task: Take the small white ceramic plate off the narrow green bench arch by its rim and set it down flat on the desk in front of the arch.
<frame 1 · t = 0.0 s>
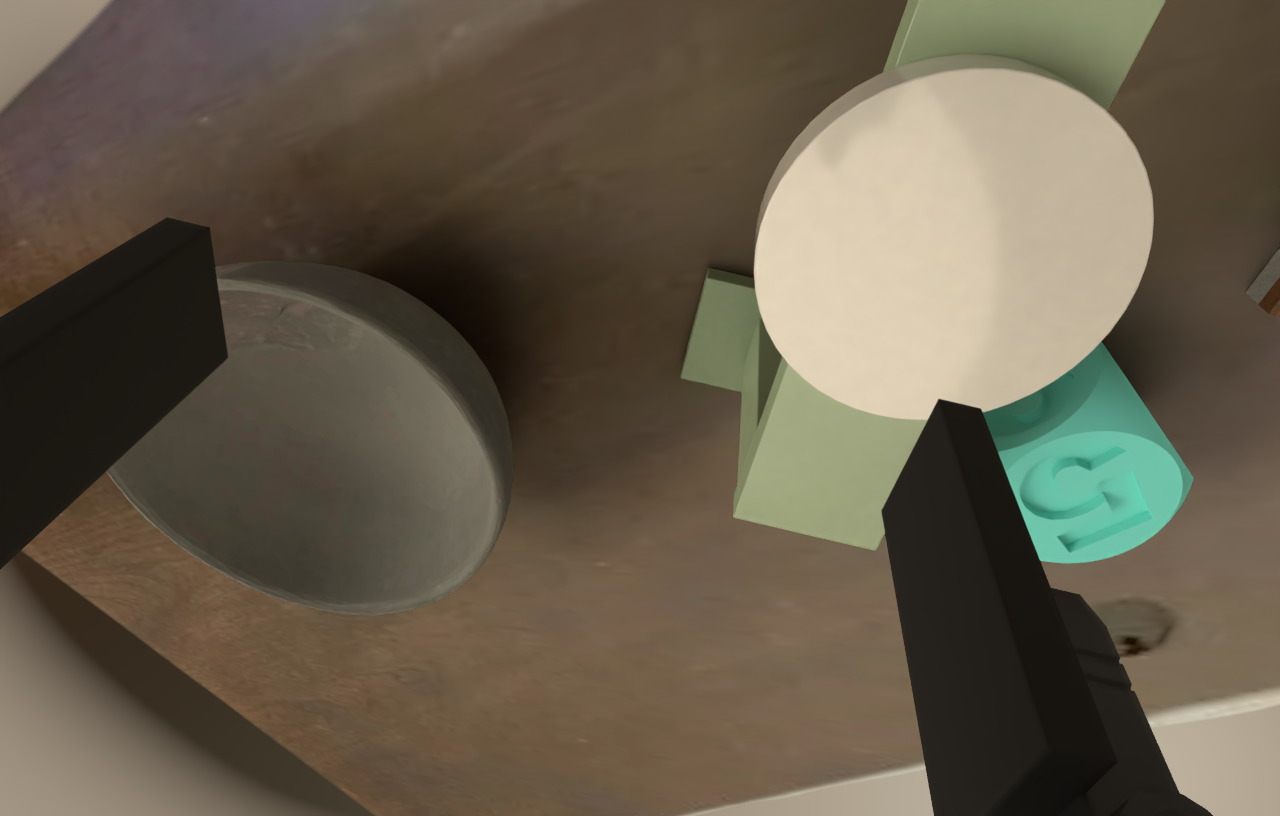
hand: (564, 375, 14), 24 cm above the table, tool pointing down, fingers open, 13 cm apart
decorative dice: (1032, 396, 41), on the table
green bench arch: (885, 133, 34), on the table
plate: (932, 243, 24), point 12 cm above the table, touching green bench arch
bowl: (377, 368, 45), on the table
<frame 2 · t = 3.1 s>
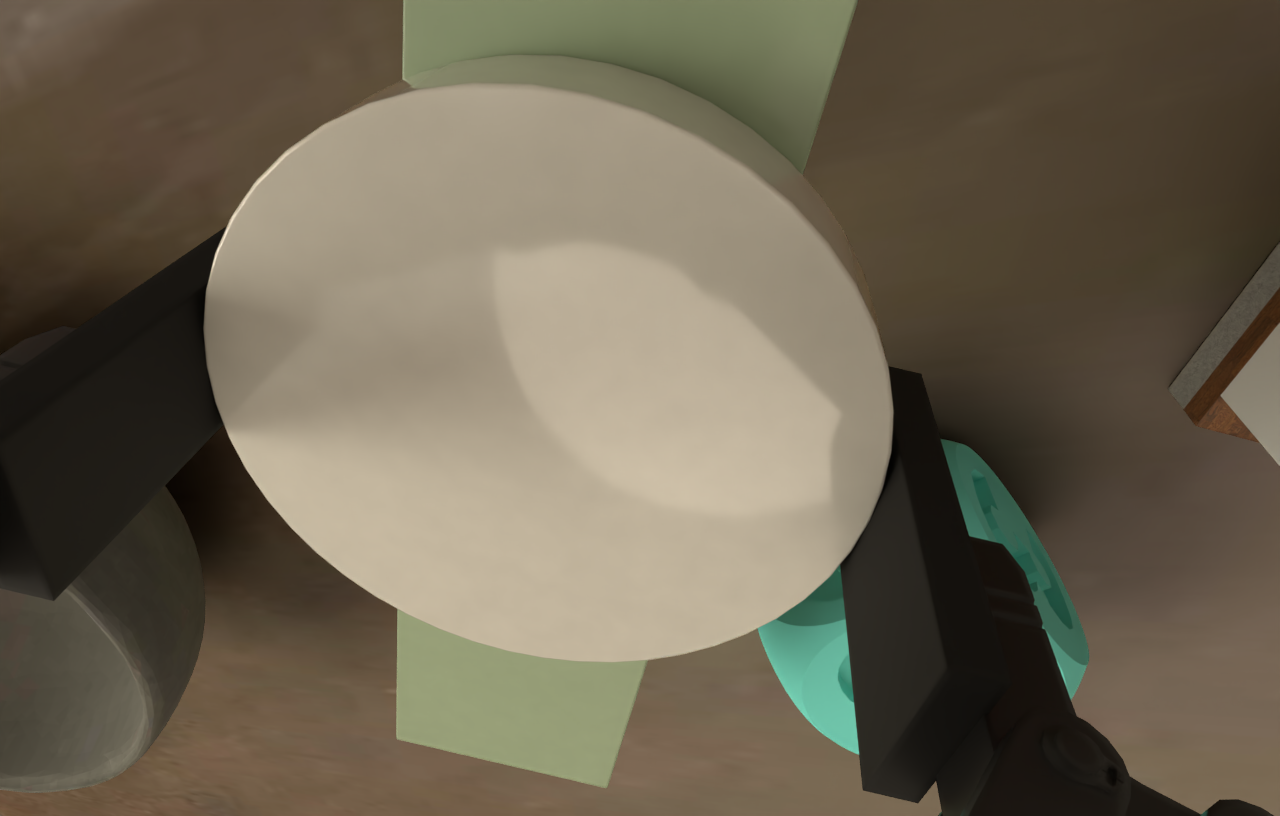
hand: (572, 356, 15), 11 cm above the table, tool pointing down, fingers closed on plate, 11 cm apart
decorative dice: (894, 513, 30), on the table
green bench arch: (645, 168, 24), on the table
plate: (561, 383, 14), point 12 cm above the table, touching gripper, green bench arch
bowl: (63, 461, 35), on the table
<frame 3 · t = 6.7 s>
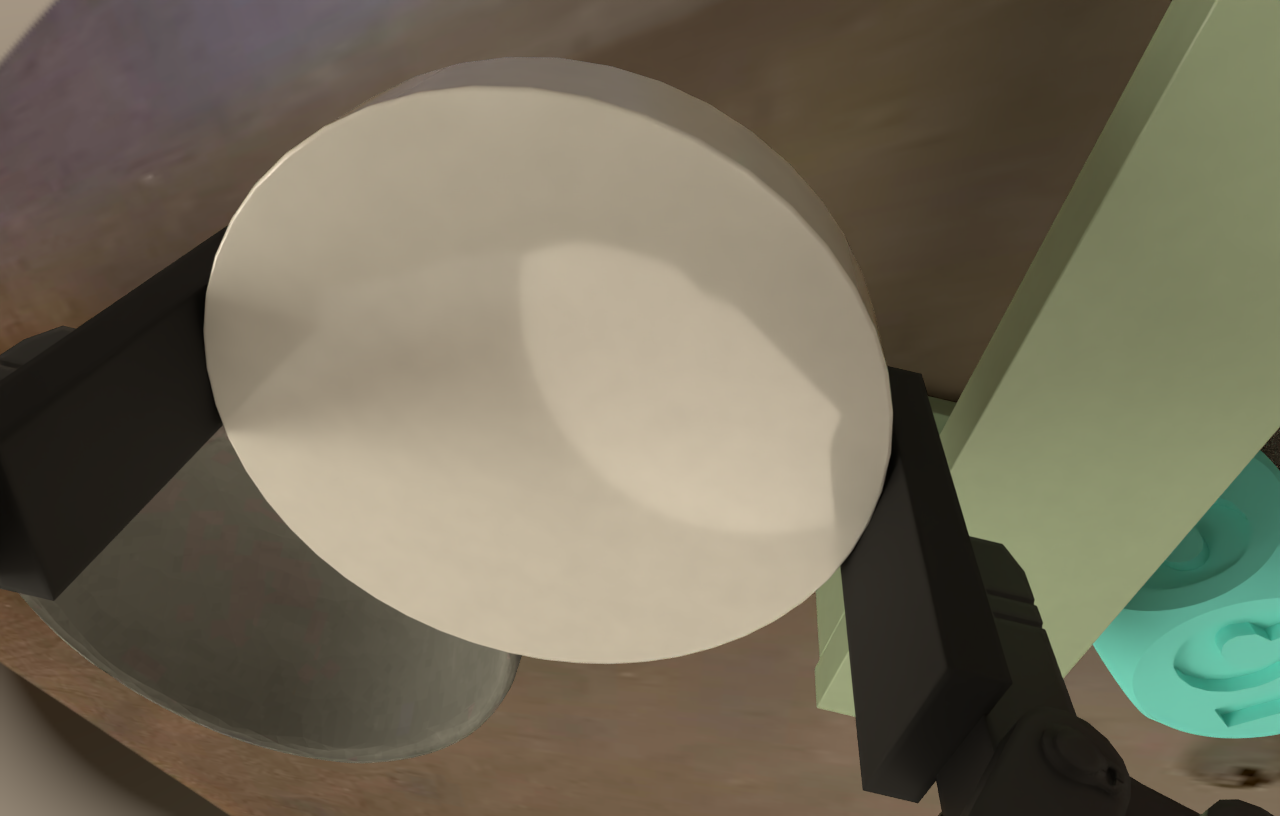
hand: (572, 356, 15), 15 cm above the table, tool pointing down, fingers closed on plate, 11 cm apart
decorative dice: (1160, 510, 33), on the table
green bench arch: (1006, 205, 27), on the table
plate: (561, 385, 14), point 16 cm above the table, touching gripper
bowl: (365, 461, 38), on the table
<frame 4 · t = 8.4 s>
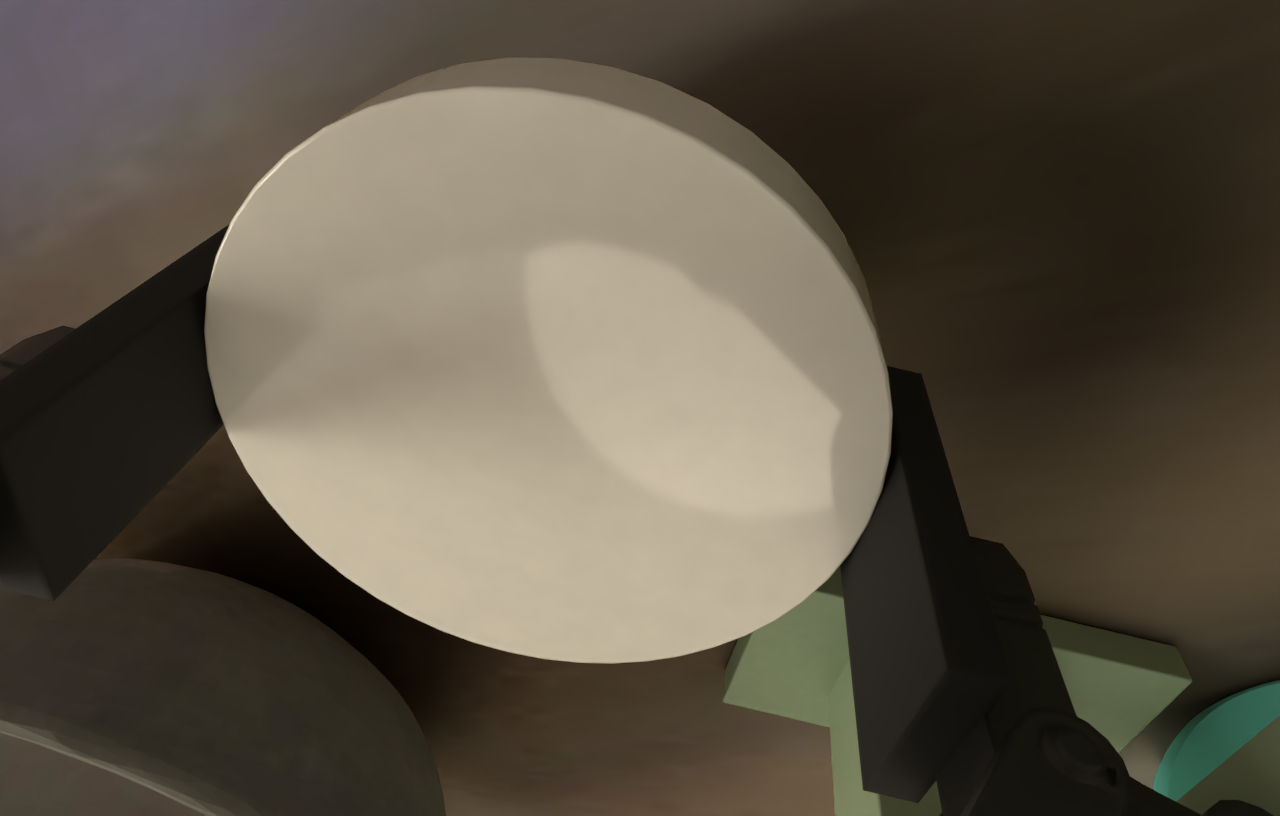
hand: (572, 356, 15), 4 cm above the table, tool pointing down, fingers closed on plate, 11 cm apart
green bench arch: (1127, 375, 18), on the table
plate: (561, 385, 14), point 5 cm above the table, touching gripper
bowl: (251, 640, 30), on the table
when the fingers open (0 cm above the table, at t = 10.6 s): plate drops 1 cm, on the table.
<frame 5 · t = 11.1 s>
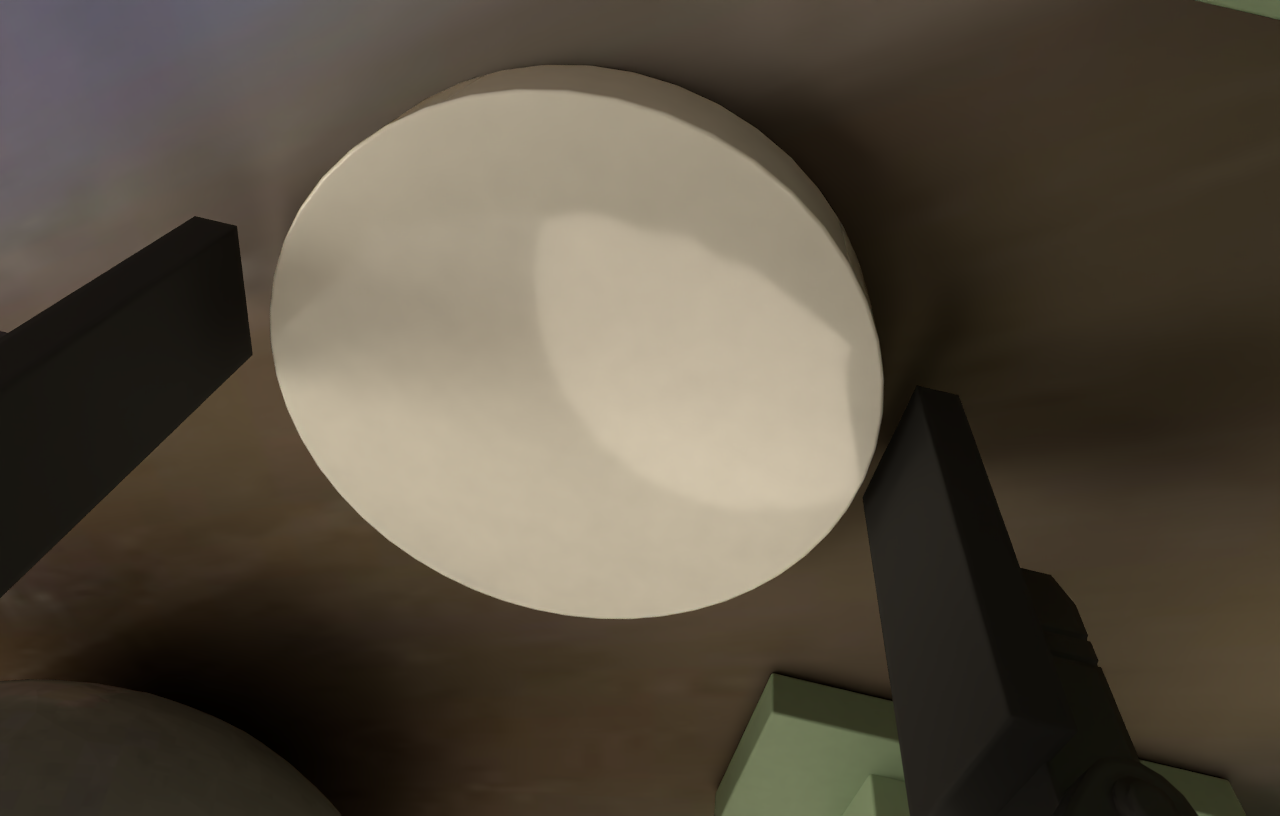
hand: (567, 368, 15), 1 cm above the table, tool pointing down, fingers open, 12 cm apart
green bench arch: (1182, 495, 15), on the table
plate: (585, 360, 16), on the table
bowl: (191, 747, 27), on the table
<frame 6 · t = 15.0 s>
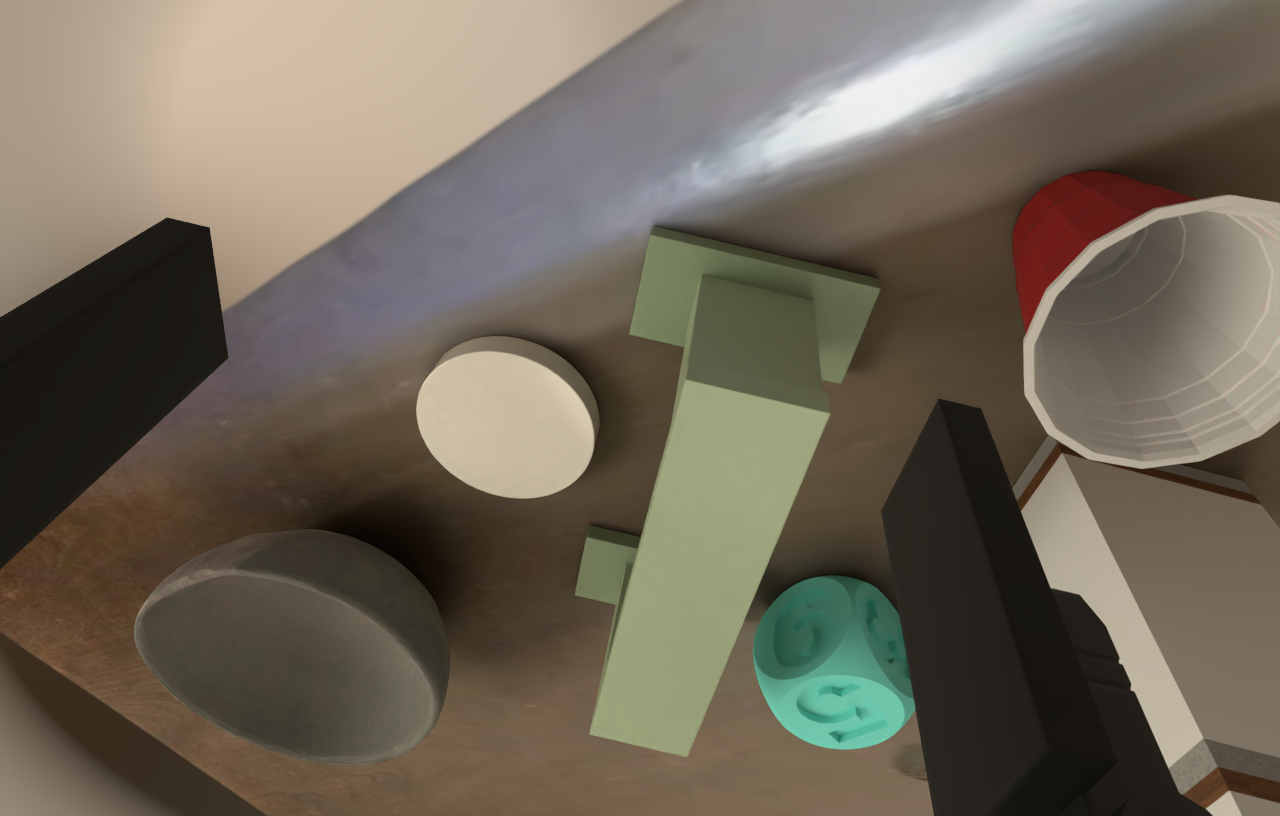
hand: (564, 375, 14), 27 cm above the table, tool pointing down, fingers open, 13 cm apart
decorative dice: (832, 610, 55), on the table
green bench arch: (702, 456, 49), on the table
plastic cup: (1077, 222, 38), on the table
plate: (512, 412, 49), on the table
bowl: (352, 573, 60), on the table
white square tower: (1094, 519, 48), on the table
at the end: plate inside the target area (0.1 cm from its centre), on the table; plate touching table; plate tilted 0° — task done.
